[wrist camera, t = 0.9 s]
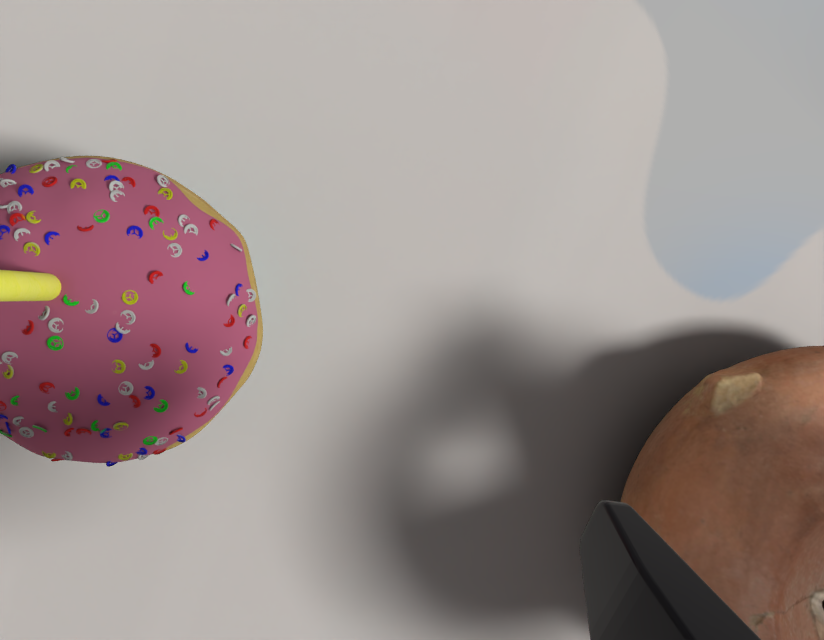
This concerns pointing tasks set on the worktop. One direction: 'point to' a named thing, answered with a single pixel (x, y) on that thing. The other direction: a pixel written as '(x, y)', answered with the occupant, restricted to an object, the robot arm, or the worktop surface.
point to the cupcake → (117, 310)
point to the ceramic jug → (746, 489)
